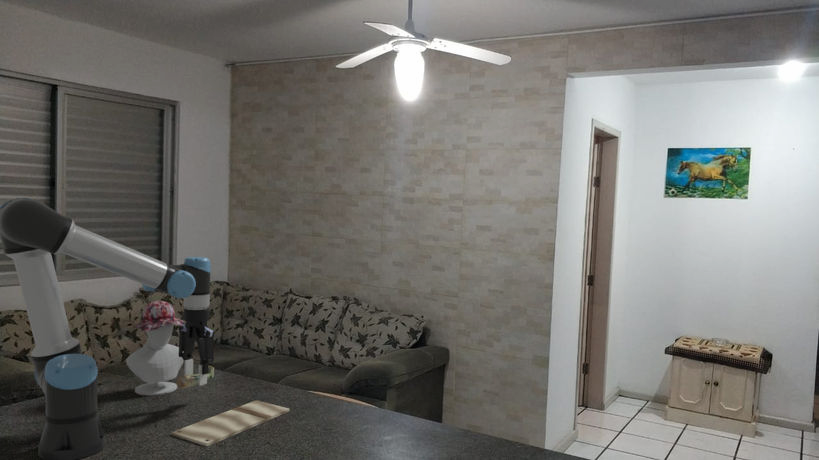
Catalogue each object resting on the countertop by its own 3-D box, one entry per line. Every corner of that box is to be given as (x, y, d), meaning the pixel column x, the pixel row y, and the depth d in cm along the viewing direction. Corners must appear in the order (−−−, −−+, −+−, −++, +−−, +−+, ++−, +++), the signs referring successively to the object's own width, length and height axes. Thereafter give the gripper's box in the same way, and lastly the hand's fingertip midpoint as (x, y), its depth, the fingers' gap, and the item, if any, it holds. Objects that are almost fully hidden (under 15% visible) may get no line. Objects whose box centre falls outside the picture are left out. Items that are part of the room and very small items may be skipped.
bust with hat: (139, 403, 197) (138, 308, 196) (120, 389, 211) (119, 300, 209) (198, 391, 210) (198, 302, 208) (176, 379, 223) (176, 294, 222)
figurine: (220, 378, 201) (220, 366, 200) (184, 391, 187) (184, 378, 187) (207, 376, 203) (207, 364, 203) (170, 388, 189) (170, 376, 189)
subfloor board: (207, 446, 166) (207, 443, 166) (171, 435, 173) (171, 431, 173) (289, 411, 193) (289, 408, 193) (256, 402, 200) (256, 400, 200)
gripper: (227, 309, 192) (226, 385, 193) (186, 302, 201) (185, 374, 202) (208, 313, 185) (207, 391, 187) (166, 305, 195) (165, 380, 196)
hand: (195, 382), depth 194 cm, fingers closed on figurine, 6 cm apart
